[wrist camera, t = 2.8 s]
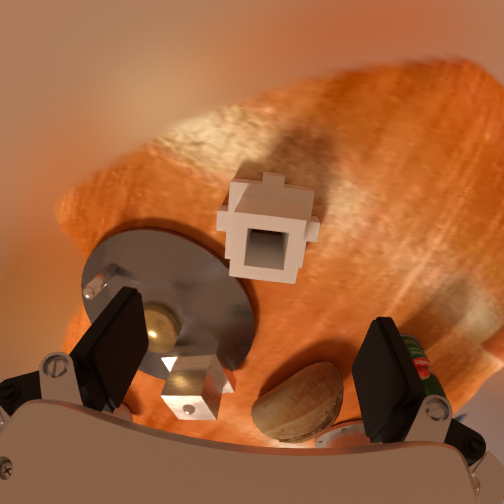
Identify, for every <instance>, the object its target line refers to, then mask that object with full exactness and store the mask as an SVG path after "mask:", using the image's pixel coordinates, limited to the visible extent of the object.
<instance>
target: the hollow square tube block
mask: <svg viewBox="0 0 504 504" xmlns="http://www.w3.org/2000/svg"><path fill="white" fill-rule="evenodd" d="M284 182H285V174H284V173H276V172H268V171H264V172H263V178H262V181H259V180H249V179H240V178H233V179H232V180H231V181H230V190H229V203H228V205H221V206H220V208H219V209H218V210H217V227H216V230H217V231H226V247H225V259H230V269H229V276H233V277H241V278H249V279H257V280H265V281H274V282H282V283H291V284H295V281H296V276H297V271H298V267H299V268H302V264H303V259H304V253H305V248H306V242H307V241H309V242H317V239H318V233H319V228H320V221H319V219H318V217H317V216H311V214H312V208H313V201H314V195H315V191H314V190H313V188H312V187H306V186H299V185H291V184H284ZM252 229H261V230H269V231H277V232H282V236H281V235H273V234H265V233H256V232H252Z"/></svg>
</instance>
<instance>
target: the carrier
mask: <svg viewBox="0 0 504 504" xmlns="http://www.w3.org/2000/svg"><path fill="white" fill-rule="evenodd" d="M229 269H230V265H228V264H227V263H226V262H225V261H224V260H223V259H222V258H221V257H220V256H219V255H218V254H216V253H215V252H214V251H213V250H211V249H210V248H209V247H207V246H205V245H204V244H202V243H200V242H199V241H197V240H195V239H193V238H191V237H189V236H186V235H184V234H182V233H179V232H175V231H172V230H169V229H163V228H158V227H137V228H130V229H127V230H123V231H120V232H118V233H116V234H114V235H112V236H111V237H109V238H108V239H106V240H105V241H104V242H102V243H101V244H100V245H98V246H97V248H96V249H95V250H94V251H93V252H92V253H91V255H90V256H89V258H88V260H87V262H86V264H85V267H84V270H83V274H82V283H81V288H82V298H83V303H84V306H85V310H86V313H87V315H88V317H89V319H90V322H91V323H92V324H93V322H94V321H95V320H96V319H97V317H98V316H99V315H100V314H101V312H102V311H103V310H104V309H105V307H106V306H107V305H108V304H109V302H110V301H111V300H112V299H113V298H114V296H115V295H116V294H117V293H118V291H119V290H120V289H121V288H122V287H123V286H126V287H132V288H136V289H137V290H138V292H139V293H141V295H142V302H143V308H144V315H145V321H146V327H147V333H148V338H149V347H148V350H147V352H146V354H145V356H144V358H143V360H142V362H141V364H140V366H139V368H138V369H139V370H140V371H143V372H145V373H147V374H149V375H152V376H154V377H157V378H160V379H164V380H166V383H165V385H164V388H163V391H162V393H161V397H162V398H163V399H164V401H165V402H166V403H167V405H168V406H169V407H170V409H171V410H172V411H173V412H174V414H175V415H176V416H177V417H178V419H187V420H217V416H218V411H219V406H220V401H221V396H222V393H231V392H235V386H236V379H235V377H234V375H233V373H232V371H233V370H234V369H236V368H237V367H238V366H239V365H240V364H241V363H242V362H243V361H244V359H245V358H246V356H247V355H248V353H249V350H250V348H251V346H252V341H253V337H254V326H255V318H254V310H253V306H252V303H251V299H250V297H249V294H248V292H247V290H246V288H245V286H244V284H243V283H242V281H241V280H240V278H239V277H233V276H229Z"/></svg>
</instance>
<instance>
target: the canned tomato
mask: <svg viewBox="0 0 504 504" xmlns="http://www.w3.org/2000/svg"><path fill="white" fill-rule="evenodd" d="M400 335H401V337H402V339H403V341H404V343H405V345H406V348H407V350H408V352H409V354H410V356H411V358H412V360H413V363H414V365H415V367H416V369H417V371H418V374H419V376H420V378H421V381H422V383H423V385H424V388H425V390H426V392H425V393H426V395H427V397H428V396H430V395H439V396H441V397H443V398H445V399H446V400H447V401H448V399H447V397H446V395H445V393H444V390H443V389H442V387H441V384H440V382H439V380H438V378H437V376H436V374H435V372H434V370H433V368H432V366H431V364H430V362H429V361H428V358H427V357H426V355H425V353H424V351H423V349H422V347H421V345H420V344H419V341H418V340H417V338H416V337H414V336H412V335H409V334H400ZM448 402H449V401H448Z"/></svg>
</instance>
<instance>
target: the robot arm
mask: <svg viewBox="0 0 504 504" xmlns="http://www.w3.org/2000/svg"><path fill="white" fill-rule="evenodd" d="M148 347H149V338H148V333H147V327H146V321H145V315H144V308H143V302H142V295H141V293H139V292H138V290H137V289H136V288H132V287H126V286H123V287H122V288H121V289H120V290H119V291H118V293H117V294H116V295H115V296H114V298H113V299H112V300H111V301H110V302H109V304H108V305H107V306H106V307H105V309H104V310H103V311H102V312H101V314H100V315H99V316H98V317H97V319H96V320H95V321H94V322H93V324H92V325H91V326H90V328H89V329H88V330H87V331H86V333H85V334H84V335H83V337H82V338H81V339H80V341H79V342H78V343H77V345H76V346H75V347H74V349H73V350H72V352H71V353H70V354H69V355H68V354H66V353H64V352H54V353H51V354H48V355H47V356H46V357H44V358H43V360H42V361H41V363H40V365H39V370H38V371H35V372H32V373H28V374H24V375H21V376H17V377H13V378H9V379H6V380H4V381H3V382H1V383H0V504H501V503H502V501H503V500H504V466H503V465H502V464H501V463H500V462H499V461H498V460H497V459H496V457H495V456H494V455H493V454H492V453H491V452H490V451H488V452H487V453H486V452H485V450H486V443H485V441H484V438H483V437H482V436H481V435H480V434H479V433H477V432H476V431H474V430H472V429H470V428H468V427H467V426H465V425H463V424H461V423H460V422H458V421H456V420H455V419H453V418H452V413H453V412H452V407H451V405H450V403H449V402H448V401H447V400H446V399H445V398H443V397H441V396H439V395H430V396H428V397H427V395H426V393H425V392H426V390H425V388H424V385H423V383H422V381H421V378H420V376H419V374H418V371H417V369H416V367H415V365H414V363H413V360H412V358H411V356H410V354H409V352H408V350H407V348H406V345H405V343H404V341H403V339H402V337H401V335H400V333H399V331H398V329H397V327H396V325H395V323H394V321H393V319H392V318H391V317H377V318H376V320H373V321H372V323H371V325H370V327H369V330H368V332H367V334H366V337H365V339H364V341H363V344H362V346H361V348H360V350H359V352H358V355H357V357H356V359H355V361H354V363H353V365H352V375H353V379H354V383H355V388H356V392H357V396H358V401H359V405H360V410H361V415H362V420H356V421H349V422H345V423H341V424H338V425H335V426H333V427H330V428H329V429H328V430H327V431H325V432H324V433H322V434H320V435H319V436H317V437H316V438H315V447H316V448H274V447H259V446H248V445H239V444H231V443H224V442H217V441H211V440H205V439H199V438H194V437H189V436H184V435H179V434H175V433H170V432H166V431H162V430H158V429H155V428H151V427H147V426H144V425H140V424H137V423H133V422H130V421H127V420H124V419H120V418H117V417H114V416H111V415H108V414H105V413H103V412H102V410H103V411H106V412H109V413H111V414H113V412H114V410H115V408H119V407H120V405H121V403H122V401H123V399H124V397H125V395H126V393H127V390H128V388H129V386H130V384H131V382H132V380H133V378H134V376H135V374H136V372H137V370H138V368H139V366H140V364H141V362H142V360H143V358H144V356H145V354H146V352H147V350H148Z"/></svg>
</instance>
